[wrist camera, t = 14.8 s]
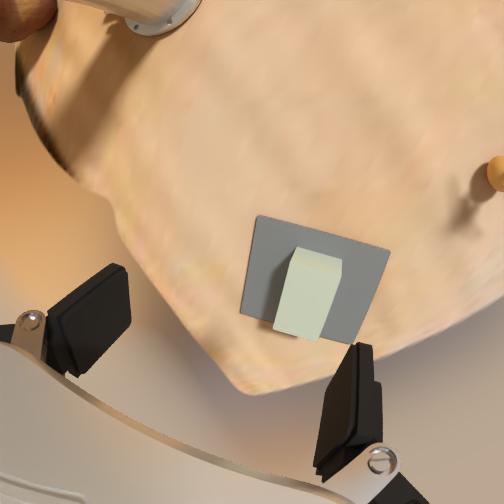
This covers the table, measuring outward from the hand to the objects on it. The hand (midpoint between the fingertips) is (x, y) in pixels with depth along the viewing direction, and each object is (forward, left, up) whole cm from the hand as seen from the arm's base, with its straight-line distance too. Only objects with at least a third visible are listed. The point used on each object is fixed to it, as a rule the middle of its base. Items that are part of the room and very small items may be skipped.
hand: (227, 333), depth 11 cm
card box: (+3, -10, -23) cm, 26 cm away
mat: (+3, -10, -24) cm, 26 cm away
